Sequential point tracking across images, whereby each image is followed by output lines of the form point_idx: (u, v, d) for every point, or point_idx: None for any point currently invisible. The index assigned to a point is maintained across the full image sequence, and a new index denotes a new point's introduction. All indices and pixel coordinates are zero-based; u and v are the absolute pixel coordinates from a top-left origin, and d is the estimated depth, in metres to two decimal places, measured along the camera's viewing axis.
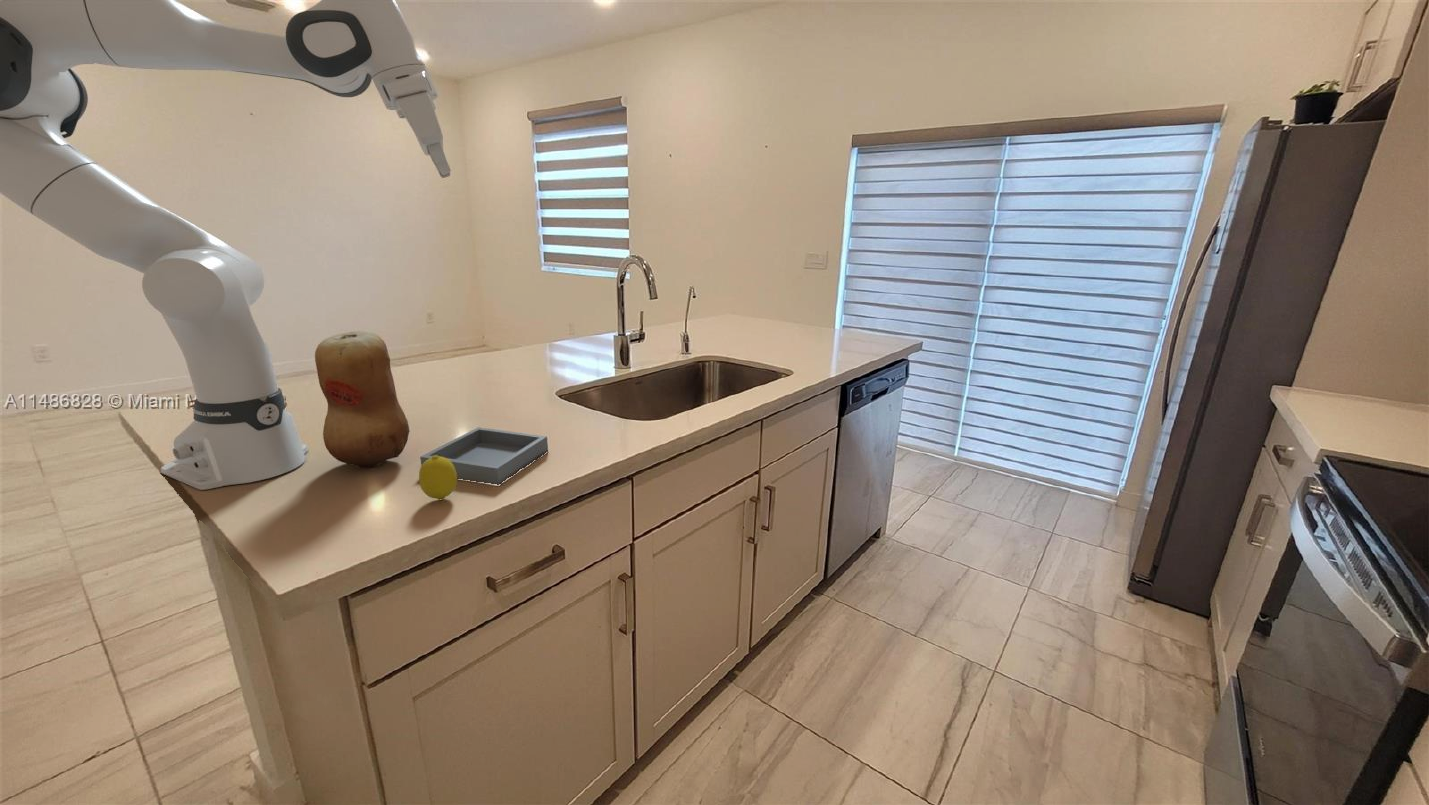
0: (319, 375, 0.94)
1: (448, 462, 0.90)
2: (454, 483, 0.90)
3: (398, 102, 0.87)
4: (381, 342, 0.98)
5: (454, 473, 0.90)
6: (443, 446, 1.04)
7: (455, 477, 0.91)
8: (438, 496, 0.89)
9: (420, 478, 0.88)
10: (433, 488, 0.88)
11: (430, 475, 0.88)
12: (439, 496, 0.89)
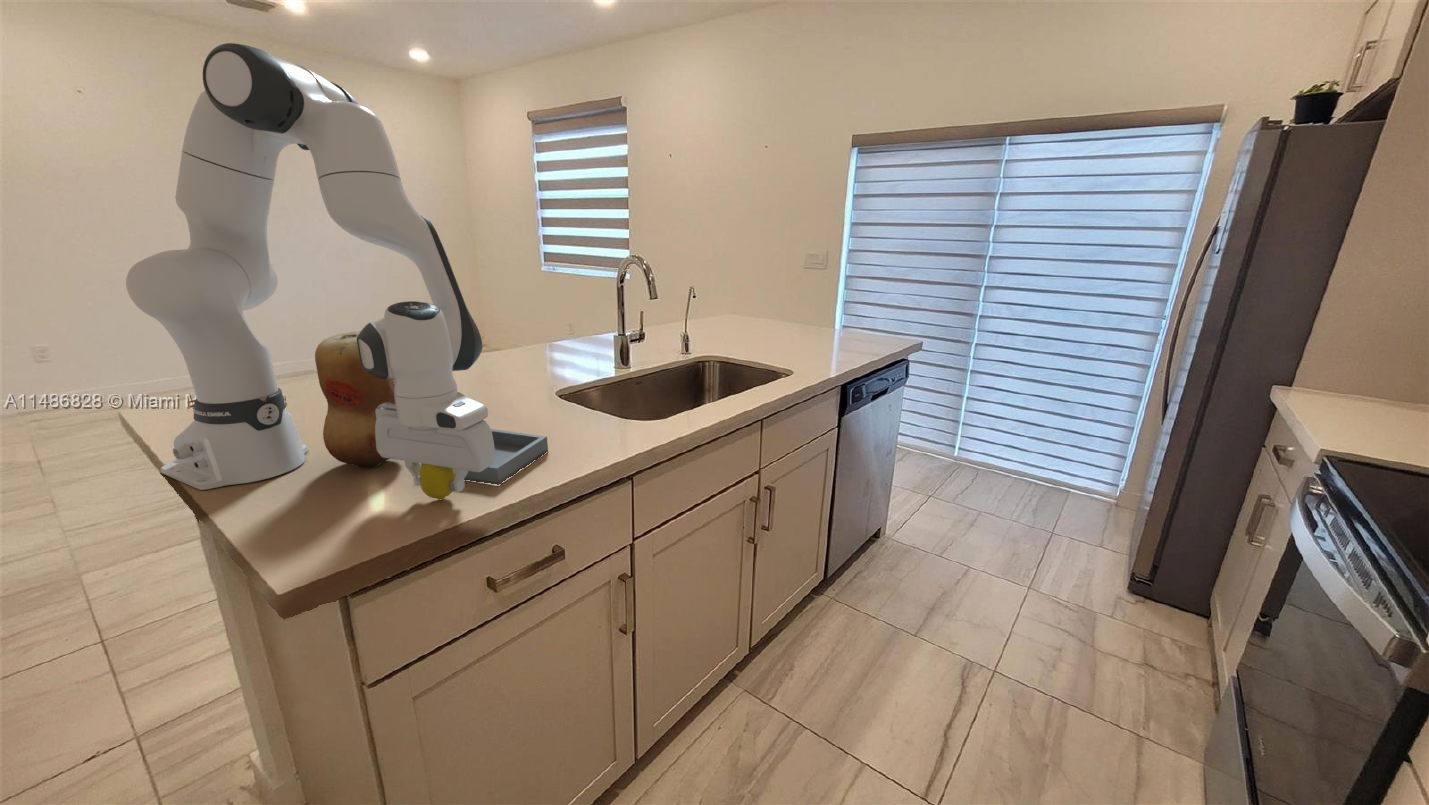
0: (319, 375, 0.94)
1: None
2: None
3: (468, 434, 0.83)
4: None
5: None
6: None
7: None
8: (438, 496, 0.89)
9: (420, 478, 0.88)
10: (433, 488, 0.88)
11: (430, 475, 0.88)
12: (439, 496, 0.89)
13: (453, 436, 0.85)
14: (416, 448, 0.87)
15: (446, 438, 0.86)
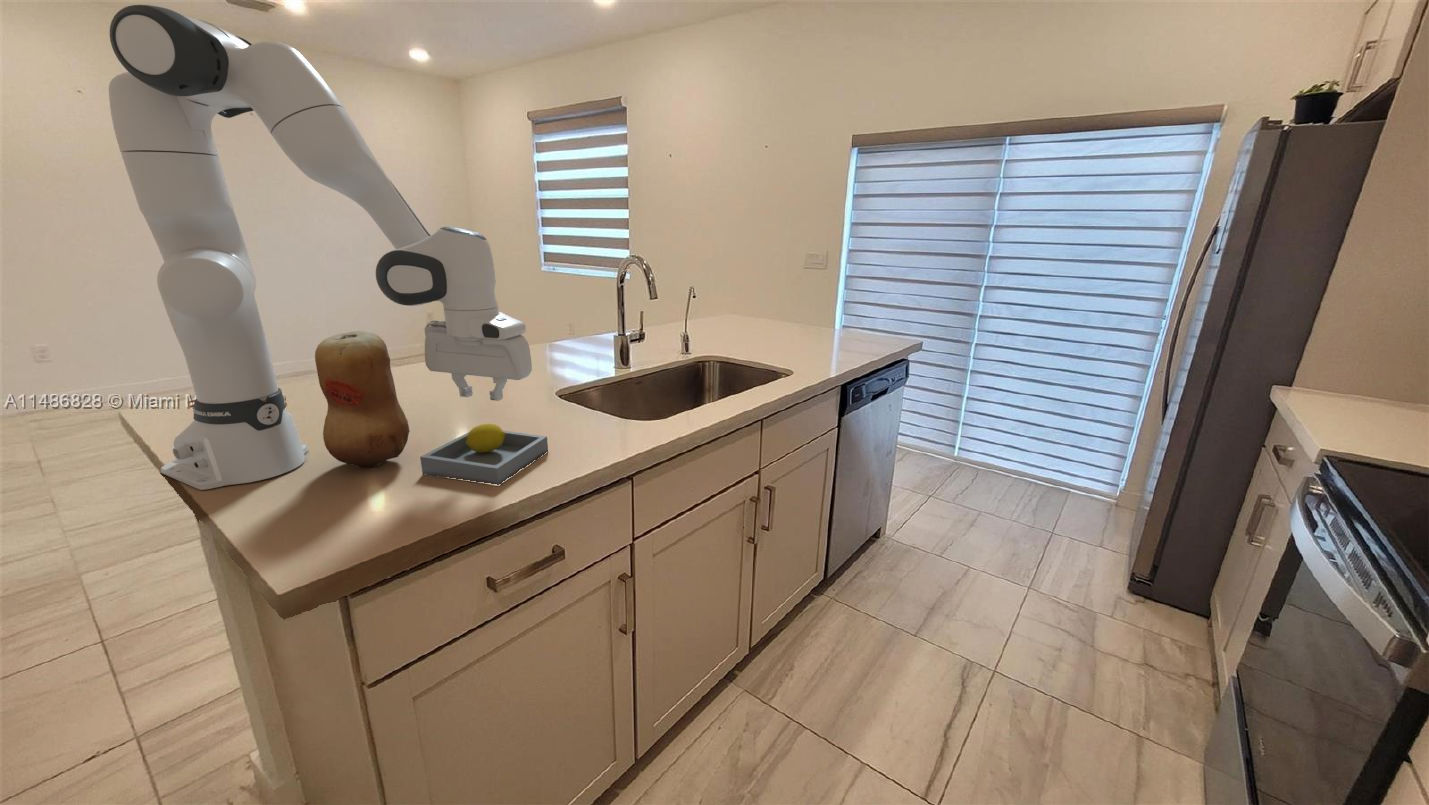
0: (319, 375, 0.94)
1: (493, 431, 1.06)
2: (473, 431, 1.06)
3: (510, 344, 0.94)
4: (381, 342, 0.98)
5: (481, 431, 1.05)
6: (443, 446, 1.04)
7: (477, 432, 1.05)
8: None
9: None
10: None
11: None
12: None
13: (495, 347, 0.96)
14: (461, 360, 0.98)
15: (489, 349, 0.96)
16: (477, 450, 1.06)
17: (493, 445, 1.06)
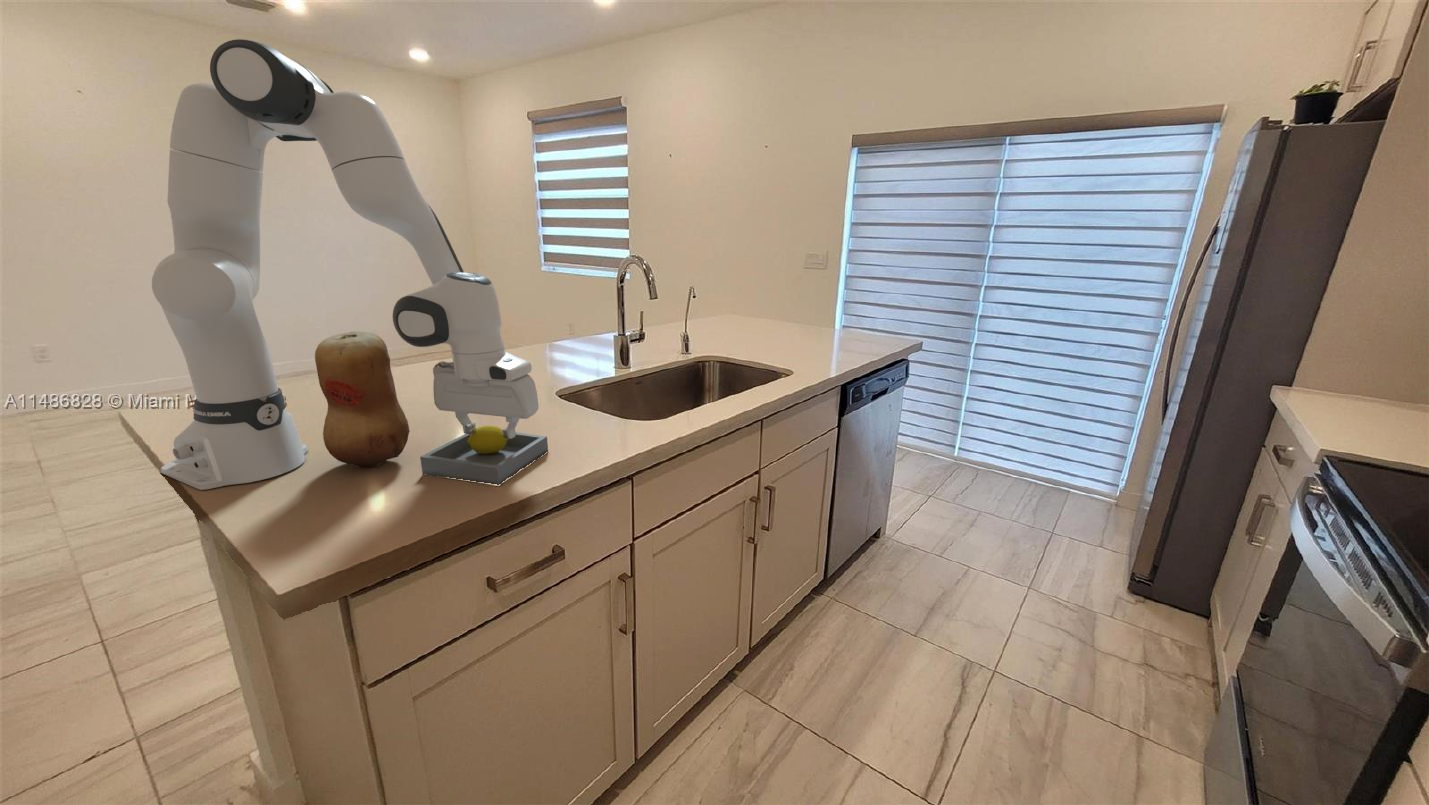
0: (319, 375, 0.94)
1: (497, 435, 1.06)
2: (478, 432, 1.05)
3: (517, 385, 0.97)
4: (381, 342, 0.98)
5: (485, 434, 1.05)
6: (443, 446, 1.04)
7: (481, 434, 1.05)
8: None
9: None
10: None
11: None
12: None
13: (503, 387, 0.98)
14: (470, 400, 1.01)
15: (497, 390, 0.99)
16: (479, 451, 1.06)
17: (495, 449, 1.06)
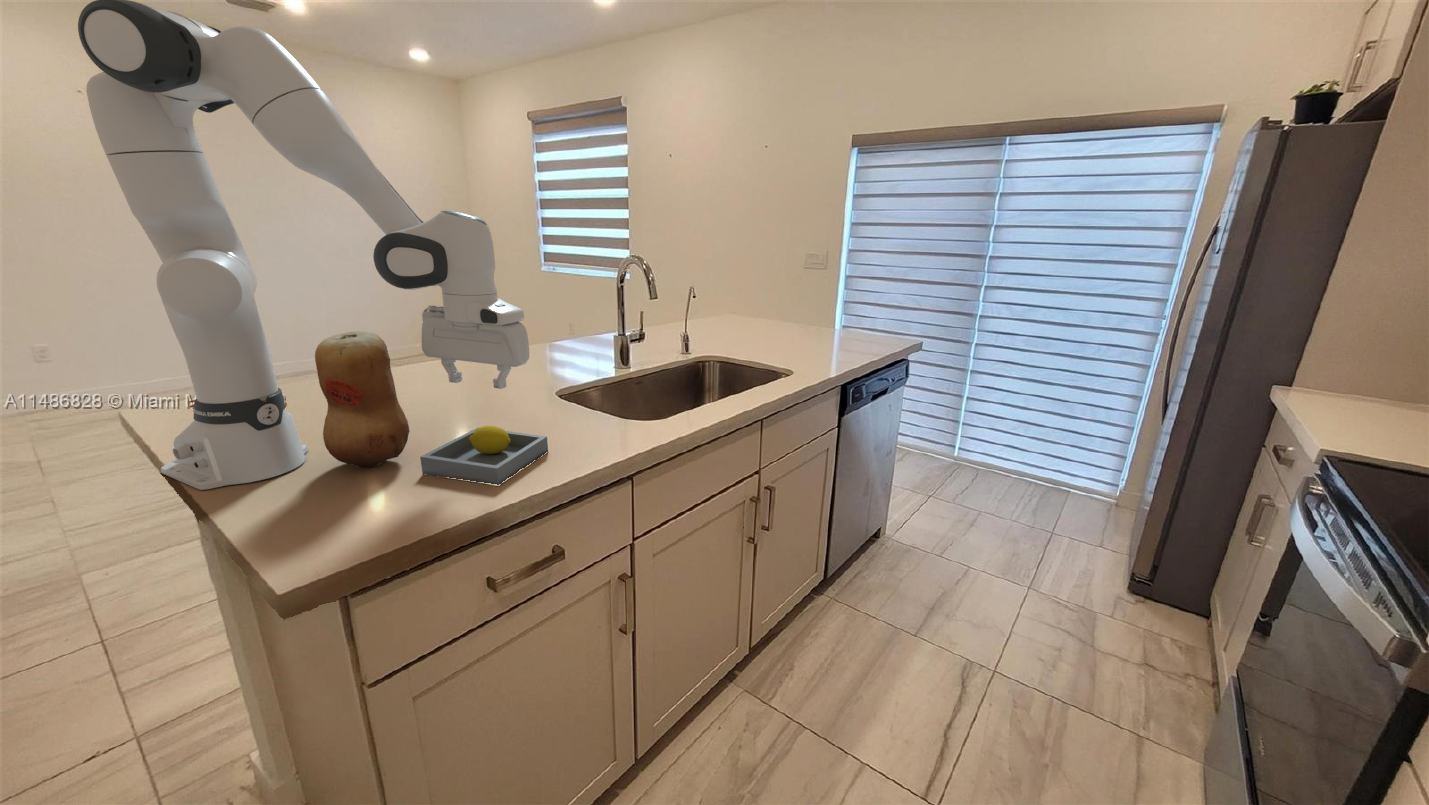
0: (319, 375, 0.94)
1: (500, 437, 1.06)
2: (481, 432, 1.05)
3: (508, 330, 0.94)
4: (381, 342, 0.98)
5: (489, 434, 1.05)
6: (443, 446, 1.04)
7: (485, 434, 1.05)
8: None
9: None
10: None
11: None
12: None
13: (493, 333, 0.95)
14: (458, 346, 0.98)
15: (487, 335, 0.96)
16: (479, 451, 1.06)
17: (497, 450, 1.06)
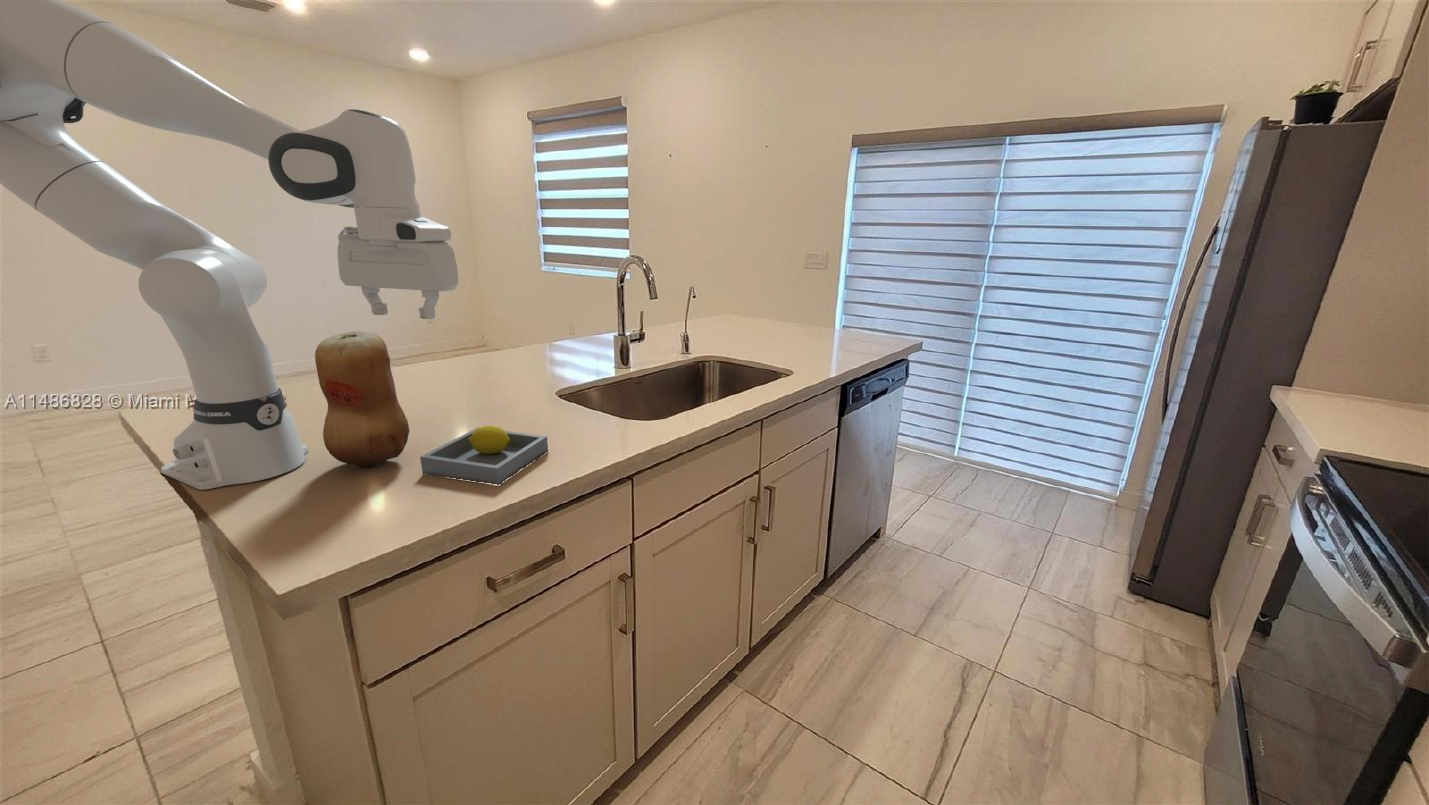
0: (319, 375, 0.94)
1: (499, 437, 1.06)
2: (480, 432, 1.05)
3: (429, 247, 0.82)
4: (381, 342, 0.98)
5: (488, 434, 1.05)
6: (443, 446, 1.04)
7: (484, 434, 1.05)
8: None
9: None
10: None
11: None
12: None
13: (414, 252, 0.84)
14: (378, 271, 0.87)
15: (408, 256, 0.85)
16: (479, 451, 1.06)
17: (496, 450, 1.06)
